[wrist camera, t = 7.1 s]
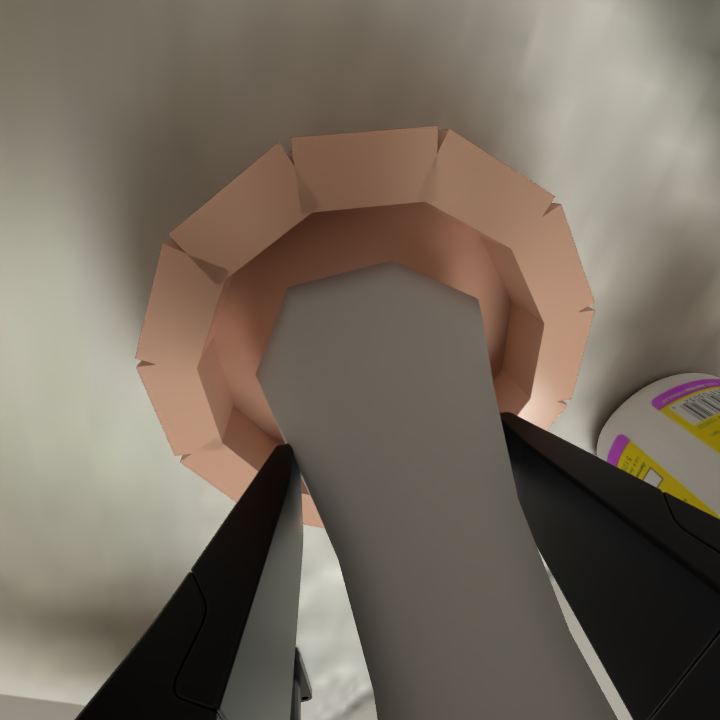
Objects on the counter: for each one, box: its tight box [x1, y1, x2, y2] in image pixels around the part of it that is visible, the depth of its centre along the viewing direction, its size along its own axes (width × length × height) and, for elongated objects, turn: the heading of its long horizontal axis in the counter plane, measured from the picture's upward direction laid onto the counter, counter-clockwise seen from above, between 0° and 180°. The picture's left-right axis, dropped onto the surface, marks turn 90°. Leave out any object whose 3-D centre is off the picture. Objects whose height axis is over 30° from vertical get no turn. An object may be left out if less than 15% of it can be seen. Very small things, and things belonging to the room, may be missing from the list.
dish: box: [135, 126, 595, 528], centre depth 12 cm, size 13×13×3 cm
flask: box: [256, 261, 618, 720], centre depth 7 cm, size 7×7×10 cm
